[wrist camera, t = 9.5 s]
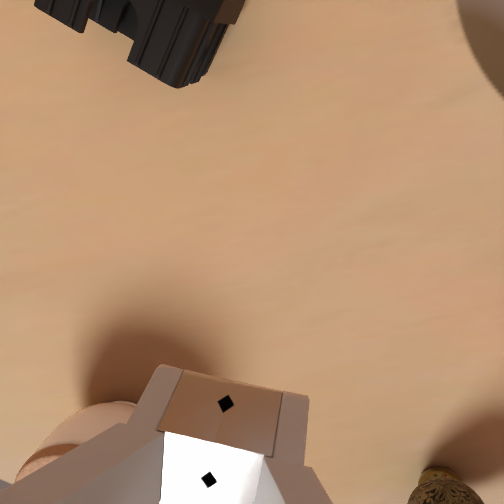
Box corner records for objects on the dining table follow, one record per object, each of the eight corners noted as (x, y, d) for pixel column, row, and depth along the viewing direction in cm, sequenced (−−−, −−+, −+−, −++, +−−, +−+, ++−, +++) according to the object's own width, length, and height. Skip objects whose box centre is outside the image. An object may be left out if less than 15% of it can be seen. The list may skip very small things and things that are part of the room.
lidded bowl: (93, 355, 43) (20, 450, 34) (214, 419, 44) (178, 530, 34) (54, 437, 49) (-18, 540, 39) (162, 493, 50) (118, 608, 40)
